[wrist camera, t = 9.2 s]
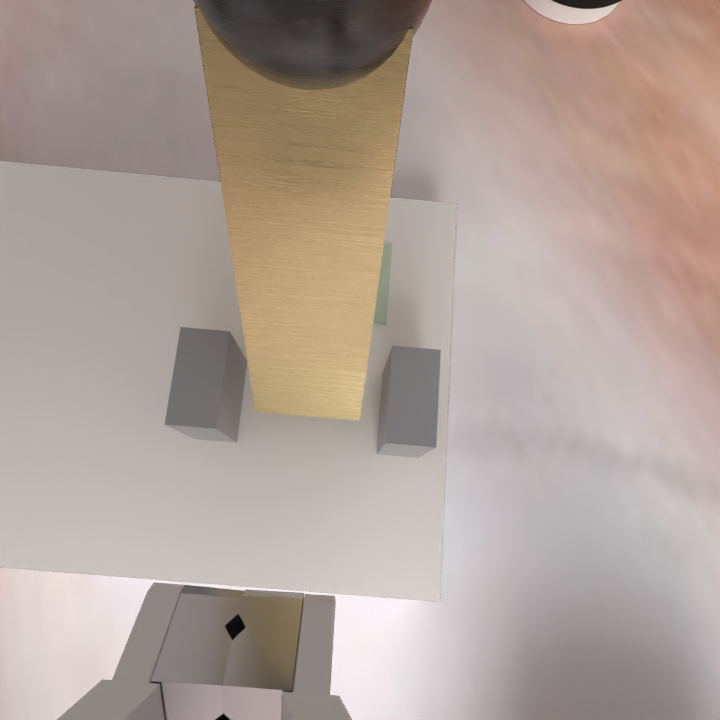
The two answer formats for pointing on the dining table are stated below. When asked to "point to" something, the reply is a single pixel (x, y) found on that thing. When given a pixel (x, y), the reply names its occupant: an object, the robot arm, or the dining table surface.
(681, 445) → the dining table surface
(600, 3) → the dixie cup
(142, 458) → the switch panel
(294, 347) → the brass lever
